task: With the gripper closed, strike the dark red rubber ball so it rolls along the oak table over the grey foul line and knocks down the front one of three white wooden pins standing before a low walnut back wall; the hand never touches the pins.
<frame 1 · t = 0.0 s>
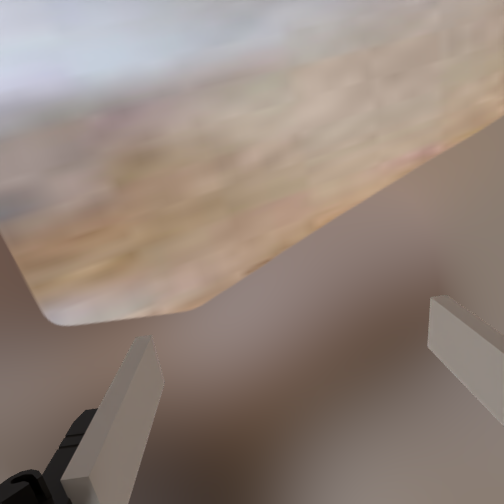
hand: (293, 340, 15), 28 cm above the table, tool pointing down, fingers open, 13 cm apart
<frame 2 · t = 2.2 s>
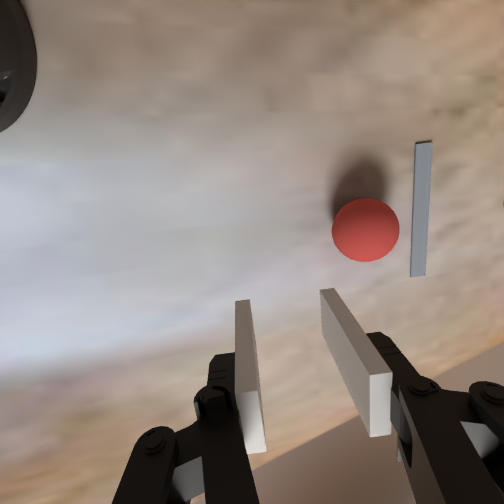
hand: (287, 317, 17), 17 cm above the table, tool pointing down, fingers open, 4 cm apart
foul line: (420, 214, 33), on the table
ball: (364, 230, 30), on the table
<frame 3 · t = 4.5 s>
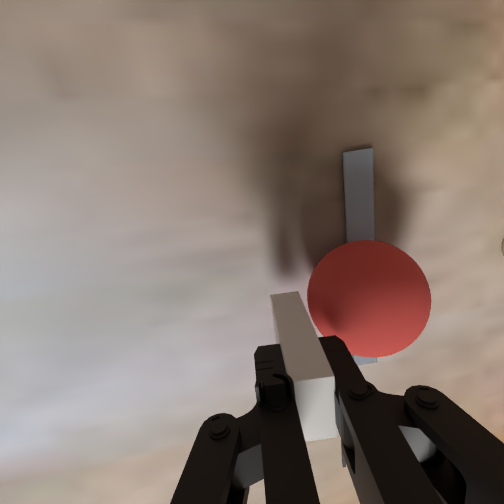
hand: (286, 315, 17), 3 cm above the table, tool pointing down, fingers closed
foul line: (361, 268, 19), on the table
ball: (365, 297, 16), on the table
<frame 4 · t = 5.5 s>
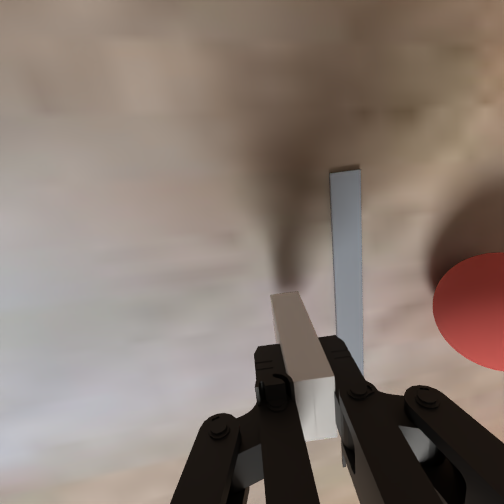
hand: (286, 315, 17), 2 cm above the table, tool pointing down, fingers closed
foul line: (347, 290, 19), on the table
ball: (499, 310, 16), on the table
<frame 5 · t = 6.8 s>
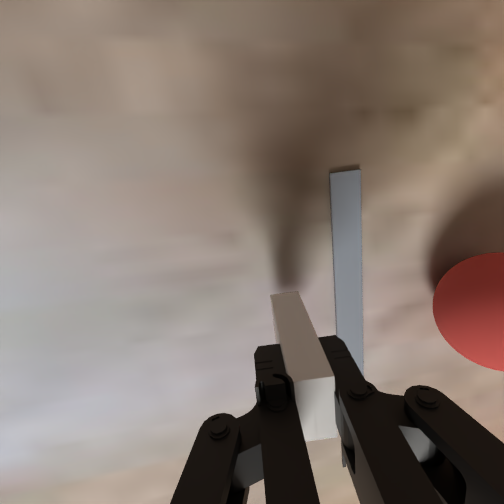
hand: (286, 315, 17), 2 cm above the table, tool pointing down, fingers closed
foul line: (347, 290, 19), on the table
ball: (499, 310, 16), on the table
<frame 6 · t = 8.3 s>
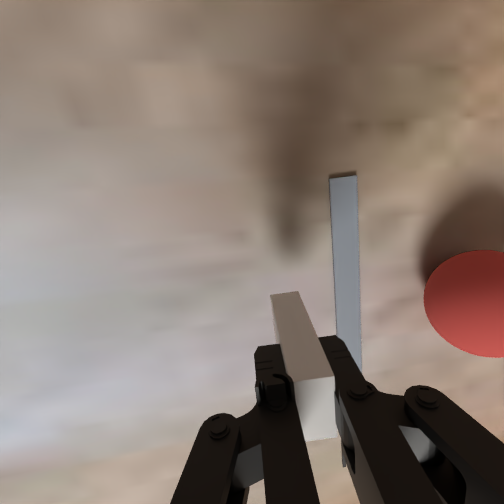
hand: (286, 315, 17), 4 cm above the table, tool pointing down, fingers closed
foul line: (346, 285, 21), on the table
ball: (483, 302, 18), on the table
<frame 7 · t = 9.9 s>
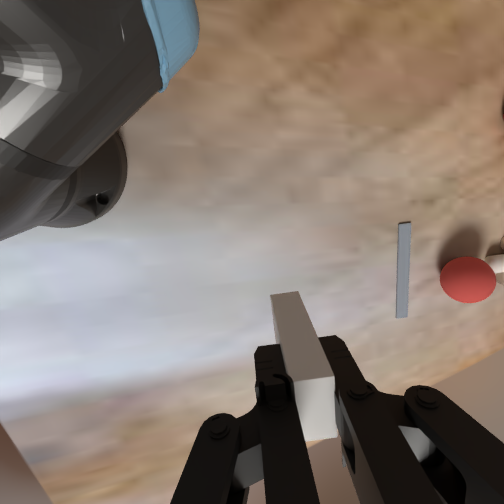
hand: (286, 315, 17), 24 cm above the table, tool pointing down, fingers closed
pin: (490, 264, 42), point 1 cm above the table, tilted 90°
foul line: (402, 272, 43), on the table
ball: (466, 279, 41), on the table
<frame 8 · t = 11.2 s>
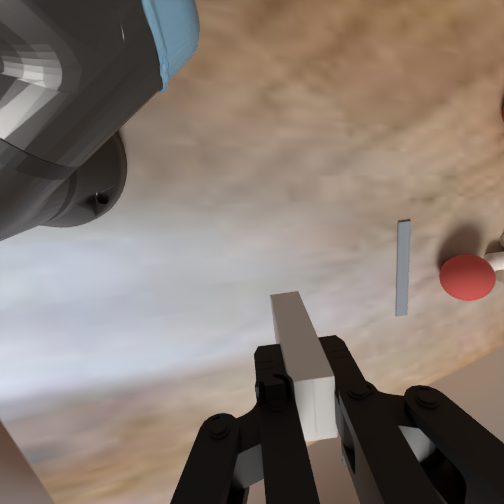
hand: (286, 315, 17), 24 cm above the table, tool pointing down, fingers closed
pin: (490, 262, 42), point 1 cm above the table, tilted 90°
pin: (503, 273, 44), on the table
foul line: (402, 270, 43), on the table
ball: (466, 277, 41), on the table
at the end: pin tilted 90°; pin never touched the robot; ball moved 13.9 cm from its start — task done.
